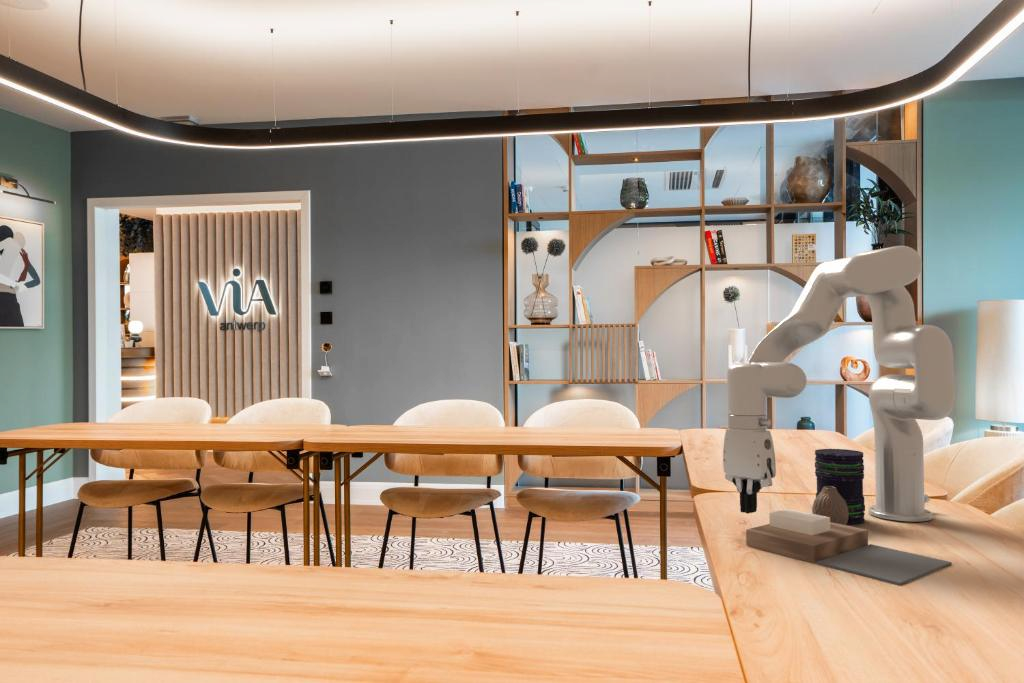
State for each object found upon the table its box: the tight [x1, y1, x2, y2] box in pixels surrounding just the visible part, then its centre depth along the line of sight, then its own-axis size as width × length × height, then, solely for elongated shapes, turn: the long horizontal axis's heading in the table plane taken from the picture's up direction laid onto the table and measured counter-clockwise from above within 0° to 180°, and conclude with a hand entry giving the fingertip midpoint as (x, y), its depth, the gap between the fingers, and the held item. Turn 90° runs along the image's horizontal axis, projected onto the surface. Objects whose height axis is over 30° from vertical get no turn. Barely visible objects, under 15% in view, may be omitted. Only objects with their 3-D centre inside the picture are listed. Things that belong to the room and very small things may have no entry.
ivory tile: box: [768, 508, 830, 535], centre depth 133 cm, size 6×9×2 cm, turn 35°
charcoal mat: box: [816, 543, 952, 586], centre depth 119 cm, size 18×14×1 cm
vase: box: [811, 486, 849, 526], centre depth 143 cm, size 7×7×9 cm
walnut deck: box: [745, 522, 869, 564], centre depth 131 cm, size 18×14×3 cm
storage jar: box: [814, 448, 866, 527], centre depth 151 cm, size 10×10×15 cm
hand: (748, 511), depth 142 cm, fingers closed
